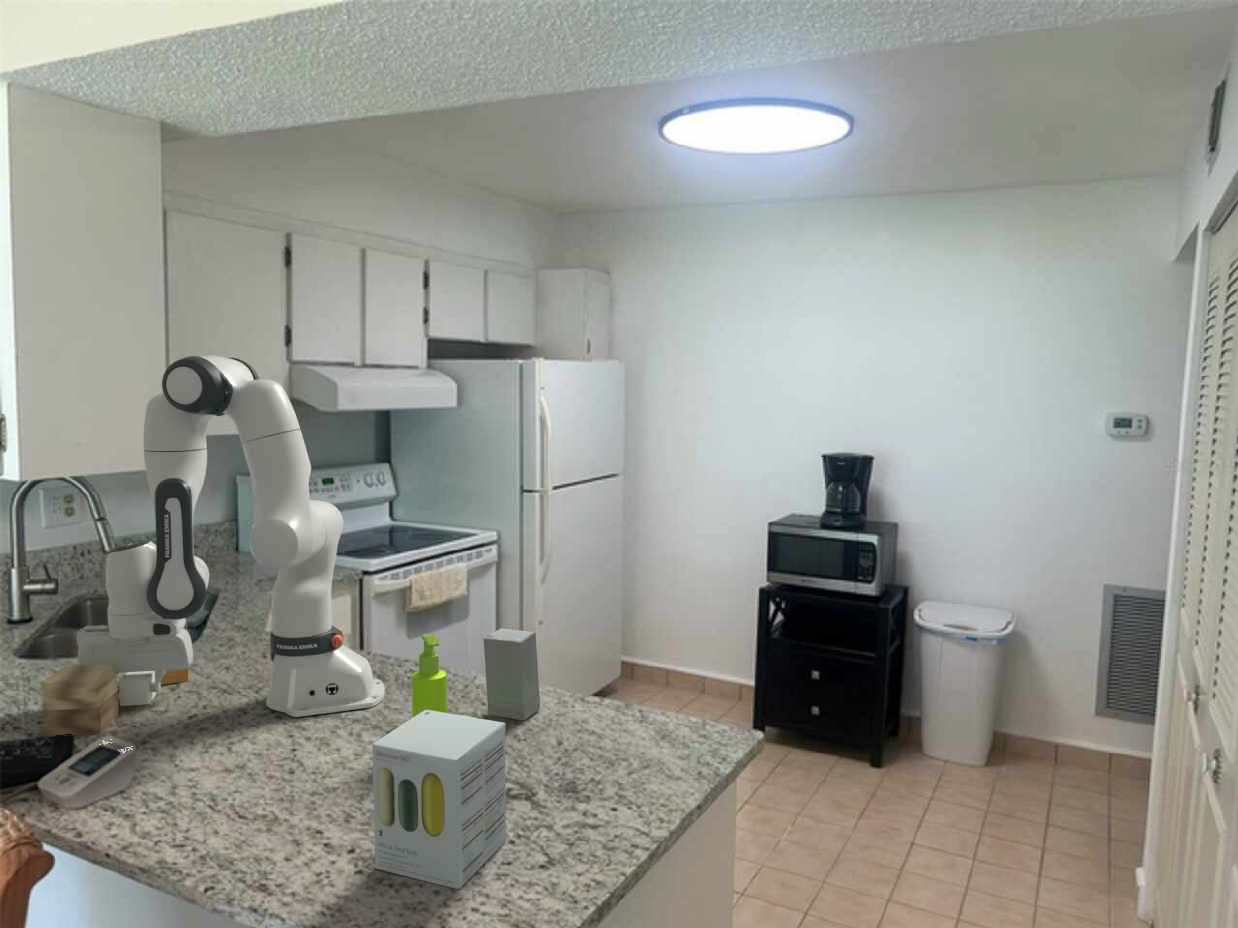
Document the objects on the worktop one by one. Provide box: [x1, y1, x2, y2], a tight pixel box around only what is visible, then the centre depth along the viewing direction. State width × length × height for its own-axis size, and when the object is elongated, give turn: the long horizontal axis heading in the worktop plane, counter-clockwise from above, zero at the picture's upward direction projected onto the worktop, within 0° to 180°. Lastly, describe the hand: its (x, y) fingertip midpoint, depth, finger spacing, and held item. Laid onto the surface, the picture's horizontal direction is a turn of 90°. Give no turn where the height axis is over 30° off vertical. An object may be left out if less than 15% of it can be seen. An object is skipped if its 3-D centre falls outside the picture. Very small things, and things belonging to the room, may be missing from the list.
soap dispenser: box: [411, 633, 448, 718], centre depth 155 cm, size 6×7×20 cm
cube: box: [118, 671, 157, 707], centre depth 176 cm, size 5×5×5 cm
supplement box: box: [371, 710, 507, 890], centre depth 121 cm, size 13×13×18 cm
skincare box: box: [483, 627, 541, 721], centre depth 171 cm, size 8×7×16 cm
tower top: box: [41, 664, 118, 712], centre depth 164 cm, size 9×9×5 cm
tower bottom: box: [43, 690, 120, 737], centre depth 164 cm, size 9×9×5 cm
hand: (137, 692), depth 176 cm, fingers closed on cube, 5 cm apart
